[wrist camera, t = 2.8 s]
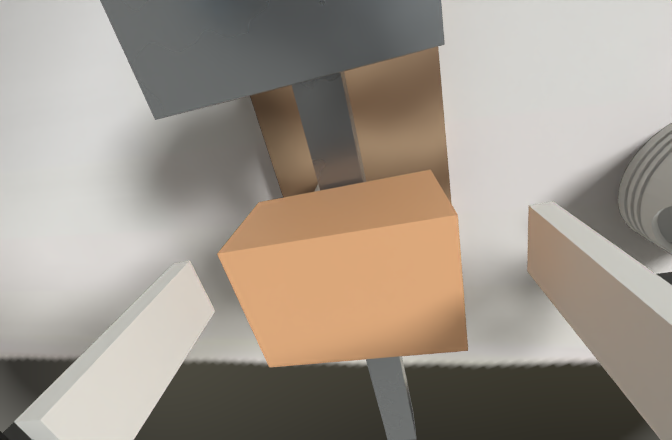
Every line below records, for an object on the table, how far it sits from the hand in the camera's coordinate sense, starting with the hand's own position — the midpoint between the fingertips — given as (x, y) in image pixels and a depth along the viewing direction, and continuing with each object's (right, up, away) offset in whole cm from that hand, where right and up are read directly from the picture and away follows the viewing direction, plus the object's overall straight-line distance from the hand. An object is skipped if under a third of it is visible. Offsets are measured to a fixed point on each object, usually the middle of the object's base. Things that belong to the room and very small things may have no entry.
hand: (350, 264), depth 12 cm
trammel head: (+1, +5, +9) cm, 11 cm away
